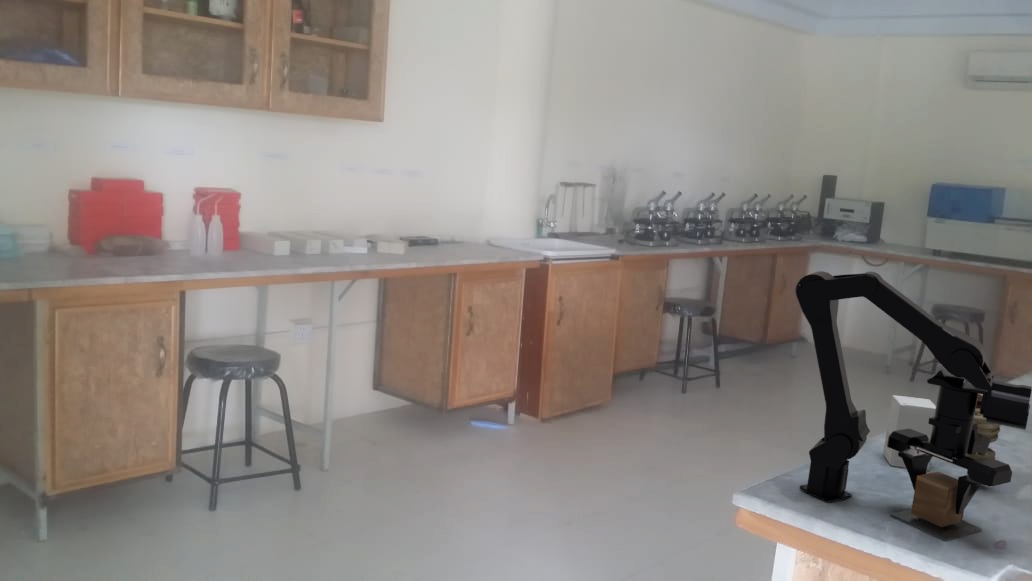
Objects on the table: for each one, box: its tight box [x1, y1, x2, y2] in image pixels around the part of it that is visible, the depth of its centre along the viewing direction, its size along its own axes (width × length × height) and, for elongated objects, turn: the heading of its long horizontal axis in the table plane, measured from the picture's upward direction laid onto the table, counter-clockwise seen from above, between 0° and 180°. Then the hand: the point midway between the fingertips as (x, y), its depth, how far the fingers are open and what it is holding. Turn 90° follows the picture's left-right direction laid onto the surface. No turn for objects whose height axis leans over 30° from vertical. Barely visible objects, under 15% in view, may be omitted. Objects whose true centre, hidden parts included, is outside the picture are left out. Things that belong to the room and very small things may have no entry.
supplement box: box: [882, 394, 936, 472], centre depth 176 cm, size 7×7×13 cm
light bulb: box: [966, 408, 1002, 471], centre depth 166 cm, size 6×6×15 cm
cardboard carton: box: [910, 471, 965, 527], centre depth 147 cm, size 6×6×7 cm
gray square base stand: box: [889, 508, 983, 542], centre depth 147 cm, size 10×10×7 cm
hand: (938, 505), depth 147 cm, fingers open, 7 cm apart
